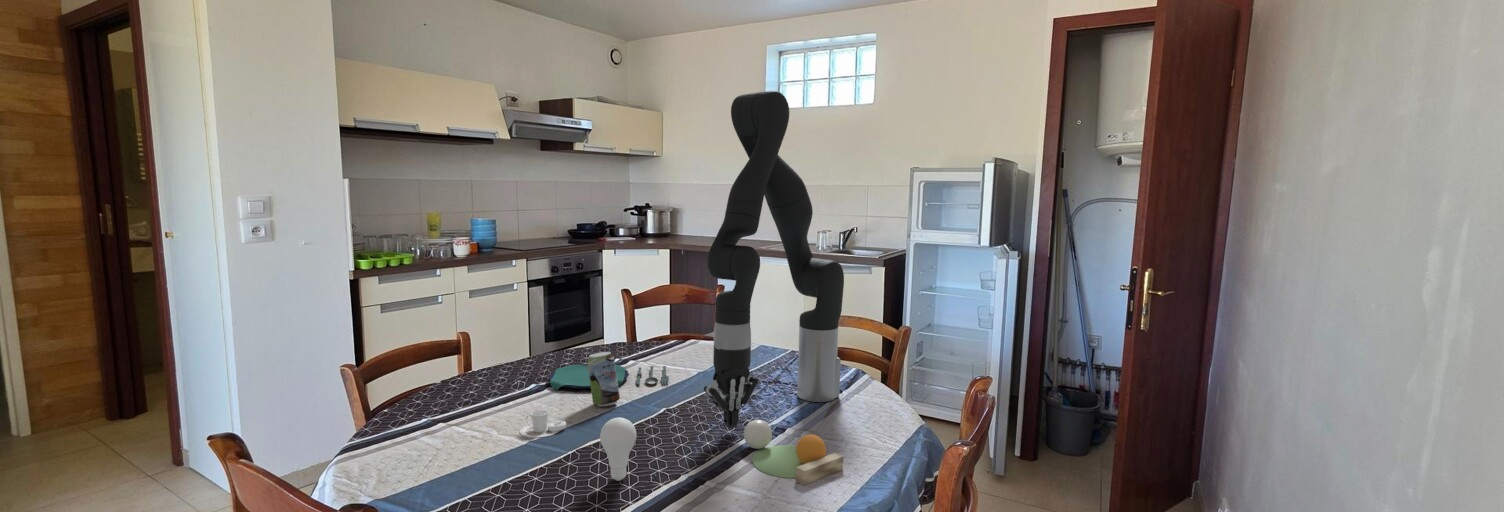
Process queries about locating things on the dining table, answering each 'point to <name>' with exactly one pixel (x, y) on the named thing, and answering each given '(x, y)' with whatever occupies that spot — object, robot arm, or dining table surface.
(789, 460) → the green mark
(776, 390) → the dining table surface
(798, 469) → the stopper wall
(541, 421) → the teacup and saucer
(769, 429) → the white ball
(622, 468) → the lightbulb
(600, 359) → the beverage can
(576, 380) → the cutlery set
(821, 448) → the orange ball
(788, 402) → the dining table surface
